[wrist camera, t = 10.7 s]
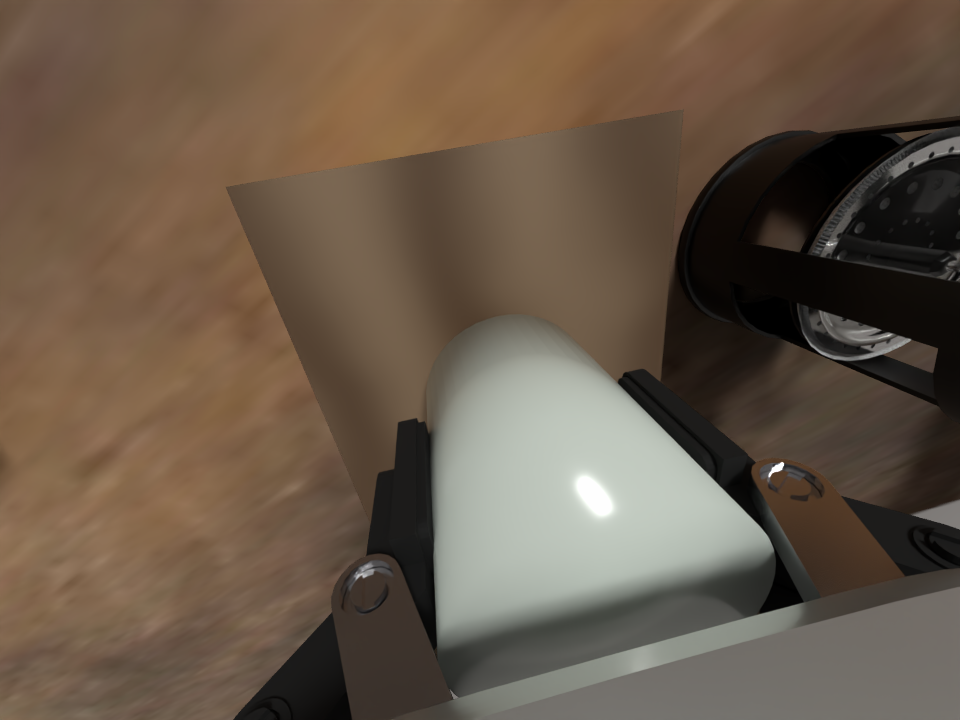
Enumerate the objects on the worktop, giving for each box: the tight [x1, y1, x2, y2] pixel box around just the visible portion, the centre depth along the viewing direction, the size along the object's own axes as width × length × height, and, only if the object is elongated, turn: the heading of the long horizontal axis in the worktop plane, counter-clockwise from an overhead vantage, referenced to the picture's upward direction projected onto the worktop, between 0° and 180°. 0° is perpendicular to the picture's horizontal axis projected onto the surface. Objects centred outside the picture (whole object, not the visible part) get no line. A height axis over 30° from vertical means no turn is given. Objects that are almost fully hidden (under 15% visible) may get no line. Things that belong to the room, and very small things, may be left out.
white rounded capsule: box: [426, 314, 776, 698], centre depth 10 cm, size 6×6×8 cm
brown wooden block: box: [226, 109, 684, 524], centre depth 17 cm, size 14×16×5 cm
